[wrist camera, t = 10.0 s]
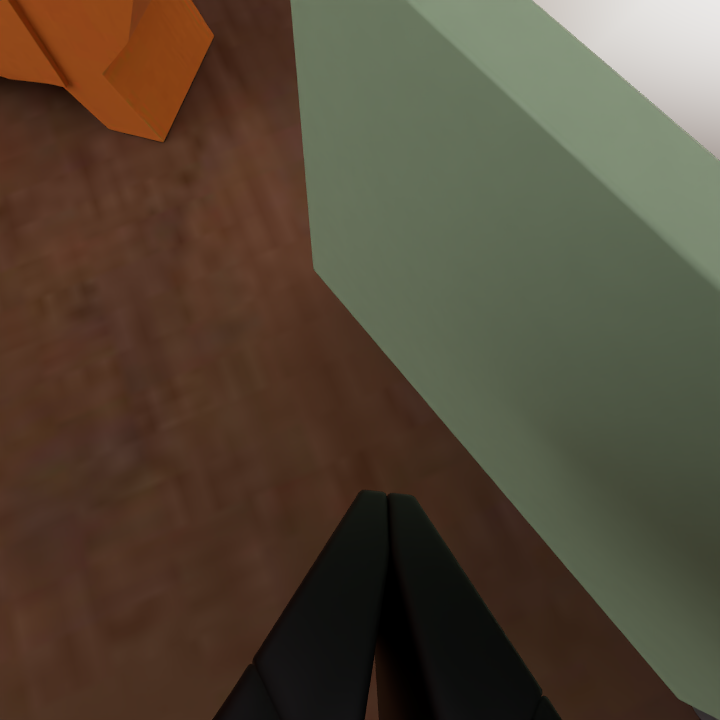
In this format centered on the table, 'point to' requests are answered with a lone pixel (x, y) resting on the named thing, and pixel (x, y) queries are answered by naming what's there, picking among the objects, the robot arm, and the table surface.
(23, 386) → the table surface
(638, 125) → the green flat slab
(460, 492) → the table surface
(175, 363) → the table surface
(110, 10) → the alarm clock
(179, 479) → the table surface
